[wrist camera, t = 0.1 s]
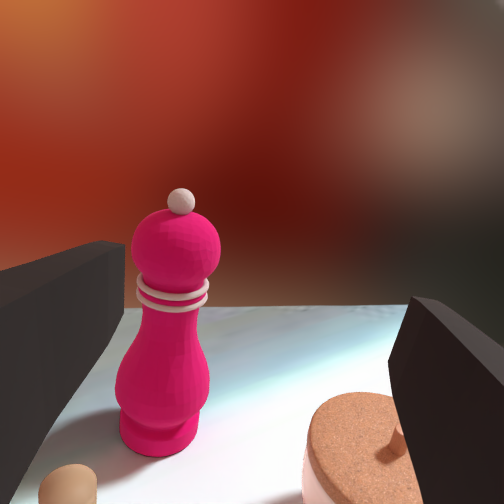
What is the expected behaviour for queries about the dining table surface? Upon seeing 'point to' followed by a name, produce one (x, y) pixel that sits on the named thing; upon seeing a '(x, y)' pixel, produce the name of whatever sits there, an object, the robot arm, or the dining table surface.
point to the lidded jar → (358, 454)
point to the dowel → (69, 486)
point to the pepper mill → (167, 330)
